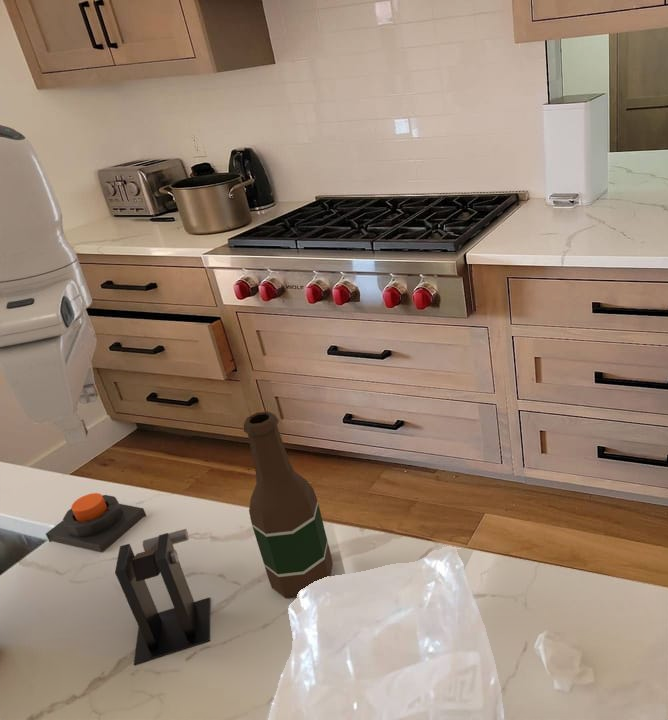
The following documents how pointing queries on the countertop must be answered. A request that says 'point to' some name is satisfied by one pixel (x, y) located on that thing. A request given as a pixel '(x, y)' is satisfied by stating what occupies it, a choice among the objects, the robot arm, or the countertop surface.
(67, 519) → the panel
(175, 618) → the power switch
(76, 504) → the button
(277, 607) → the countertop surface
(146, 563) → the power lever
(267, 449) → the beer bottle
